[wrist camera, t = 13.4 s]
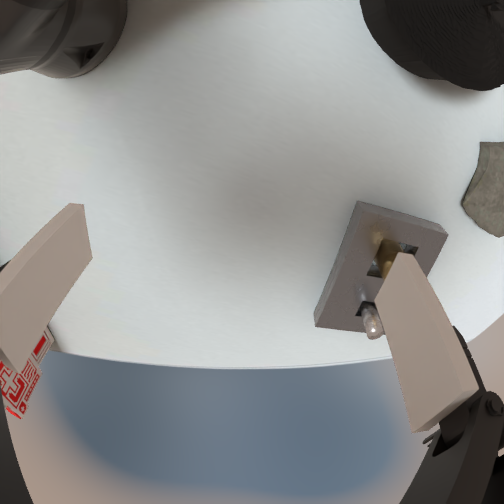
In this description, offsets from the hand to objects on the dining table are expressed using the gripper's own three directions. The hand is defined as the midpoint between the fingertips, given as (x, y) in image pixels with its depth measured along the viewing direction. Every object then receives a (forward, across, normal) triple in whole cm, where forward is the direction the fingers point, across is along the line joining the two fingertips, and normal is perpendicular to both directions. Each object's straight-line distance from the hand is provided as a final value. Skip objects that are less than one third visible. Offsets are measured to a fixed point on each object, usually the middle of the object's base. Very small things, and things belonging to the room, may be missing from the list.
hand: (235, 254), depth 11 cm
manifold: (+24, +21, -16) cm, 36 cm away
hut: (+25, +18, +21) cm, 37 cm away
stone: (+25, +38, +3) cm, 45 cm away
